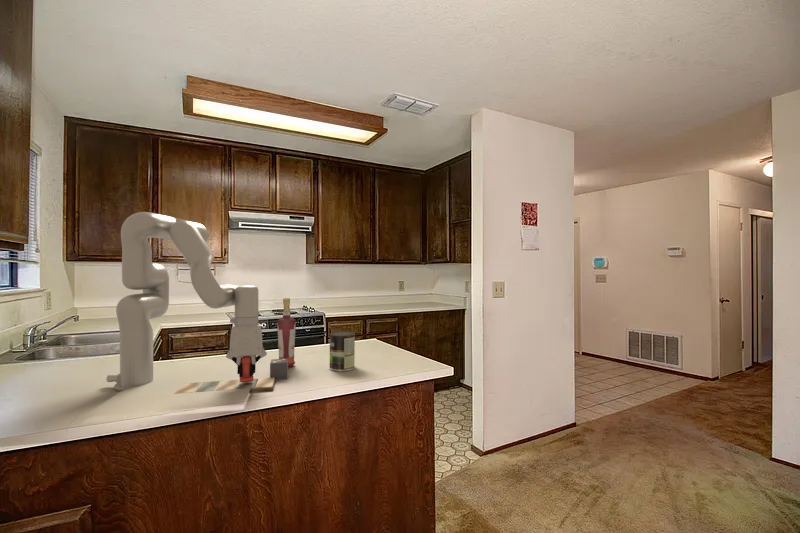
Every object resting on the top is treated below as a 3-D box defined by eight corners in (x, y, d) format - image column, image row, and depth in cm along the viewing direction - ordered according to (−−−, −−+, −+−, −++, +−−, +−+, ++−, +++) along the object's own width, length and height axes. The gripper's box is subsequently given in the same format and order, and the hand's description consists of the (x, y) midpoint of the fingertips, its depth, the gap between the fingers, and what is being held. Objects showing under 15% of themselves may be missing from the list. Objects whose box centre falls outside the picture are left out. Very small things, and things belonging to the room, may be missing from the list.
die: (270, 379, 139) (270, 363, 139) (271, 375, 145) (271, 359, 145) (287, 378, 141) (287, 362, 141) (287, 374, 147) (287, 358, 147)
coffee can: (331, 372, 149) (331, 336, 149) (327, 365, 159) (327, 331, 159) (357, 370, 152) (357, 334, 152) (352, 364, 162) (352, 330, 162)
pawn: (238, 383, 128) (238, 356, 128) (240, 379, 132) (240, 353, 132) (252, 382, 129) (252, 355, 129) (254, 378, 134) (254, 353, 134)
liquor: (295, 368, 155) (295, 299, 155) (276, 369, 154) (276, 299, 154) (296, 363, 163) (296, 297, 162) (277, 364, 161) (277, 297, 161)
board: (172, 398, 120) (172, 394, 120) (183, 386, 132) (183, 382, 132) (273, 390, 127) (273, 386, 127) (275, 380, 139) (275, 376, 139)
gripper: (218, 324, 125) (218, 380, 125) (270, 322, 129) (270, 377, 129) (223, 321, 133) (223, 374, 133) (272, 319, 137) (272, 371, 137)
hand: (246, 375), depth 131 cm, fingers closed on pawn, 2 cm apart
